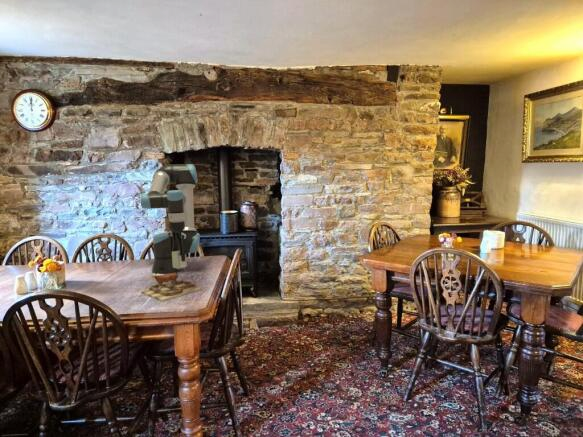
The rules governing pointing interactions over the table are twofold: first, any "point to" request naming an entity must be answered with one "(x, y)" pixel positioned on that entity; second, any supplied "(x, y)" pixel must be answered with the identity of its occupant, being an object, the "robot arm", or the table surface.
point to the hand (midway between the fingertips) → (179, 266)
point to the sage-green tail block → (177, 259)
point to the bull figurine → (164, 279)
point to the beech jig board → (171, 290)
